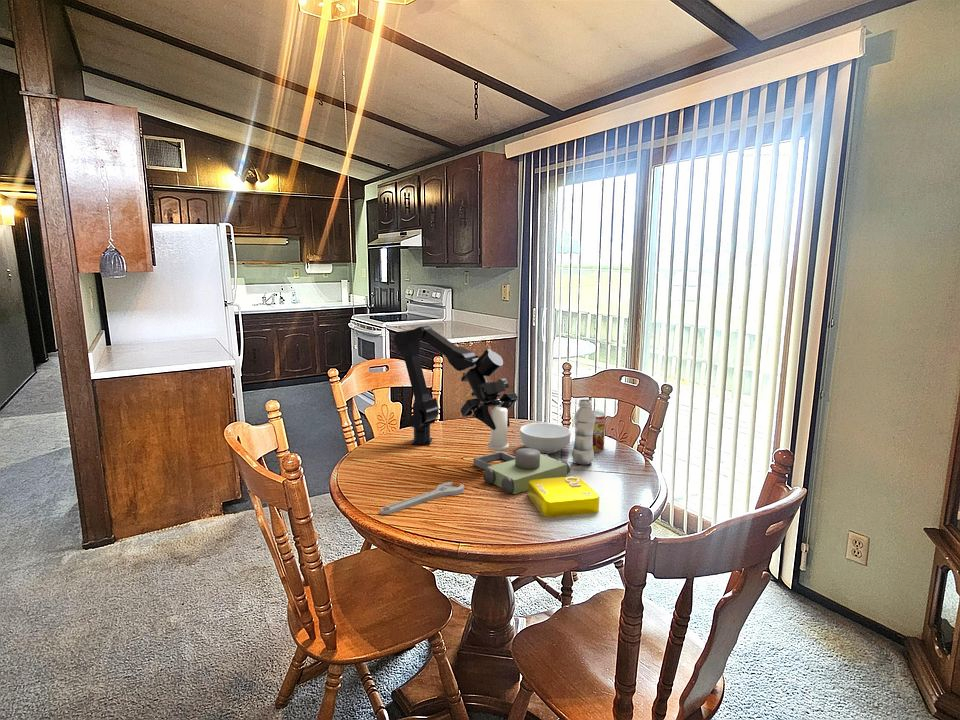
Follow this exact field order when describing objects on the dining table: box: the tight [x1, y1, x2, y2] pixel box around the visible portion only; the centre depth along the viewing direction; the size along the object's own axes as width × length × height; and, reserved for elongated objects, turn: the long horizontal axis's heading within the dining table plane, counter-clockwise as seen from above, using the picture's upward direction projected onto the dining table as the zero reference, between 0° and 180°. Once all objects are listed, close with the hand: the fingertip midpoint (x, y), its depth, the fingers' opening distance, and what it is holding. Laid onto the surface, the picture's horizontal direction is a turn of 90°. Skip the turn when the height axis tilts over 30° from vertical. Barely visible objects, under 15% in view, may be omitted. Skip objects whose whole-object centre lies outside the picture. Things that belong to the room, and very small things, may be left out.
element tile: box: [527, 475, 600, 518], centre depth 140 cm, size 15×15×5 cm
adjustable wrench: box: [380, 481, 465, 515], centre depth 142 cm, size 25×6×2 cm, turn 127°
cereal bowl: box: [519, 422, 571, 454], centre depth 181 cm, size 17×17×7 cm
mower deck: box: [473, 447, 571, 495], centre depth 160 cm, size 24×22×8 cm
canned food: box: [592, 410, 606, 453], centre depth 182 cm, size 8×8×12 cm
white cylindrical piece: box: [487, 406, 510, 452], centre depth 164 cm, size 6×6×12 cm
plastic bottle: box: [571, 398, 596, 466], centre depth 167 cm, size 6×7×20 cm
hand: (501, 427), depth 163 cm, fingers closed on white cylindrical piece, 5 cm apart
